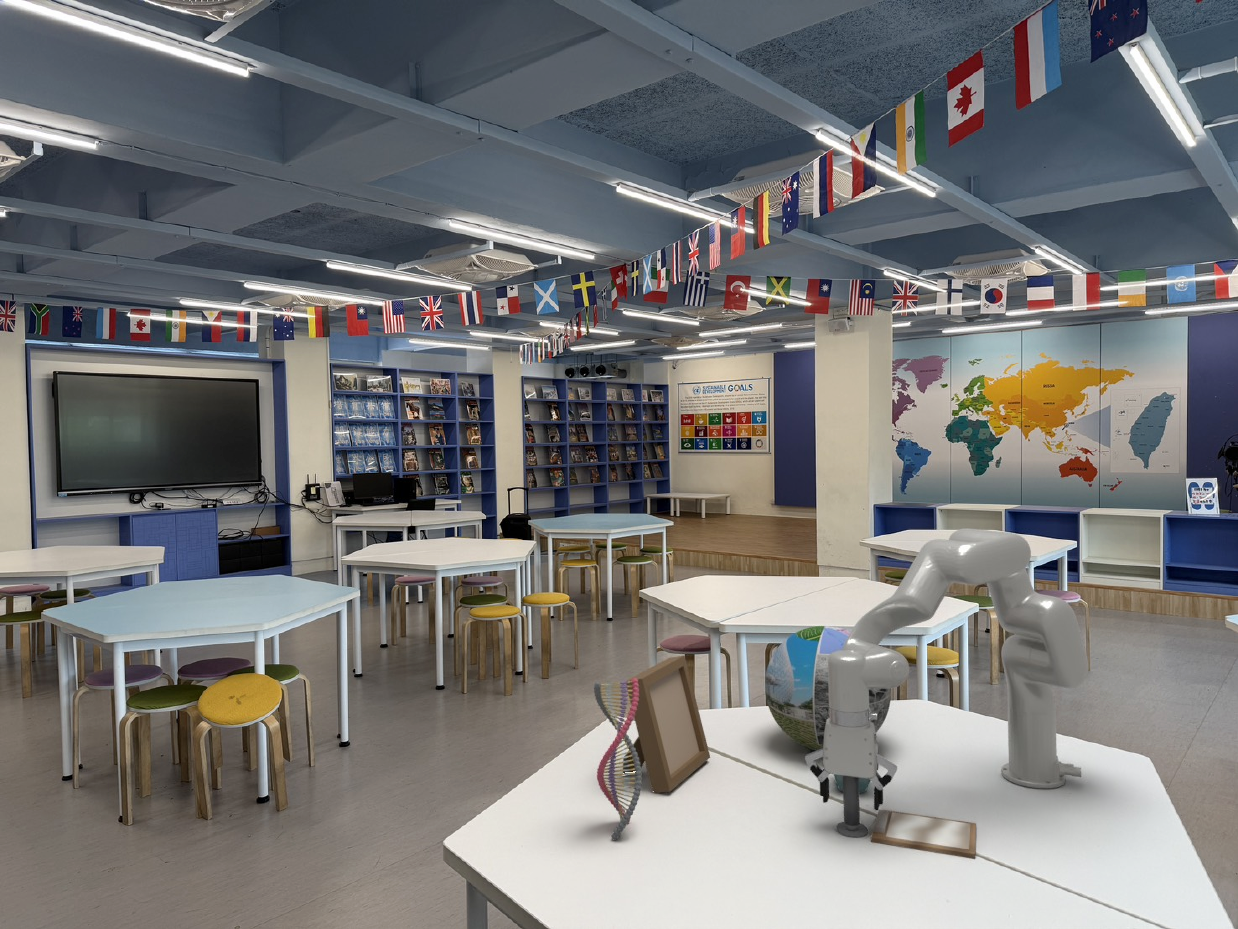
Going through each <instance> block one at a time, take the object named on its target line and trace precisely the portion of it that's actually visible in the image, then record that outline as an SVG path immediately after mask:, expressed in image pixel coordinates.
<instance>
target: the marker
mask: <svg viewBox="0 0 1238 929" xmlns="http://www.w3.org/2000/svg"><path fill="white" fill-rule="evenodd" d="M842 796H843V797H842V798H843V800H842V801H843V806H842V807H843V822H844V823H845V824H846V829H847V830H849V831H857V830H858V825H859V824H860V823H861V819H860V818H861V817H860V816H861V814H860V813H861V812H860V811H861V810H860V808H861V807H860V792H859V778H857V777H850V776H843V791H842Z"/></svg>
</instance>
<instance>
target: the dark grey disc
mask: <svg viewBox="0 0 1238 929" xmlns="http://www.w3.org/2000/svg"><path fill="white" fill-rule="evenodd" d="M835 830H836V832H837V833H838V834H840V835H842V836H844V837H848V838H857V839H858V838H862V837H863V838H864V837H865V836H867V835H868V834H869V828H868V827H867V826H866V825H865V824H863V823H862V822H860V824H859V825H858V830H857V831H849V830H847V829H846V824H845V823H844V821H841V822H839V823H837V824H836V825H835Z"/></svg>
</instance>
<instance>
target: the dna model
mask: <svg viewBox="0 0 1238 929" xmlns="http://www.w3.org/2000/svg"><path fill="white" fill-rule="evenodd" d="M627 683H632V686H627V685H626V684H627ZM614 685H620V686H614ZM593 686H594V688H593V689H594V690H593V692H594V697H595V700H596V703H597V705H598V706H599V708H600V710H601V711H602V713H603V716H605V717H606V718H607V720H608V721H609V723H611V725H612V727H614V730H616V731H617V734H616V736H615V738H614V740H613V741H612V743H611V744H610V745H609V747H608V748H607V751H605V753H604V754H603V756H602V758H601V759H600V761H599V764H598V768H597V771H596V773H597V774H596V779H597V782H598V786H599V789H600V790H601V792H602V793H603V795H605V798H607V800H608V801H609V802H610V805H613V808H614V809H615V811H617V813H618V815H619V823H618V825H617V826H616V827H615V829H614V830H613V833H612V834H611V836H610V837H611V839H612V840H613V839H614V841H617V839H618V838H619V837H620V835H621V833H622V832H623V831H624V829H625V828H626V826H627V825H628V822H629V823H630V821H631V818H632V817H631V816H633V815H634V811H635V809H636V807H637V804H638V801H639V800H640V798H639V797H640V795H641V791H642V787H641V786H642V780H643V777H642V775H643V774H642V769H641V767H640V765H641V764H640V762H639V757H637V756H638V753H637V752H636V748H634V743H632V740H631V738H630V736H629V735H628V734H627V733H628V731H629V730H630V726H631V725H632V722H633V721H634V720H635V719H634V716H635V712H636V711H637V706H638V701H639V698H638V697H639V689H638V688H639V684H638V680H637V678H633V679H632V681H628V682H627V680H622V681H620V682H612V683H601V682H600V681H596V682H595V683H594V685H593ZM606 686H607V687H606ZM609 686H610V687H609ZM629 687H632V688H633V690H627V688H629ZM608 689H612V690H608ZM613 689H616V690H613ZM631 691H633V694H628V692H631ZM619 692H621V693H619ZM610 696H611V697H610ZM612 696H614V697H612ZM629 696H633V698H632V699H630V698H628V697H629ZM611 700H612V701H611ZM613 700H615V701H613ZM630 700H631V701H632V703H631V702H627V701H630ZM611 703H612V704H611ZM619 704H620V705H619ZM629 706H630V707H629ZM617 708H619V709H617ZM611 710H612V711H611ZM626 710H629V711H626ZM614 714H615V715H614ZM626 714H628V715H626ZM616 715H618V716H619V717H618V716H616ZM623 742H624V743H623ZM622 743H623V744H622ZM624 746H626V747H624ZM623 747H624V748H623ZM622 748H623V749H622ZM618 750H619V751H618ZM626 750H628V751H626ZM623 751H625V752H623ZM621 752H623V753H621ZM627 753H631V755H630V756H626V757H624V756H625V755H626V754H627ZM623 755H624V756H623ZM620 756H623V757H620ZM618 757H619V758H618ZM627 757H632V758H633V759H632V760H627V761H622V760H623V759H624V758H627ZM617 761H619V762H617ZM630 761H633V762H634V764H629V765H625V766H623V763H627V762H630ZM620 764H621V765H620ZM616 765H617V766H616ZM618 765H619V766H618ZM628 766H635V768H634V769H624V770H623V767H628ZM619 768H620V769H619ZM621 768H622V769H621ZM616 769H617V770H616ZM631 770H635V771H636V772H635V773H624V774H623V771H631ZM621 772H622V773H621ZM622 775H628V776H632V775H635V777H617V776H622ZM616 780H635V782H634V781H616ZM621 784H624V785H621ZM625 784H626V785H625ZM627 784H629V785H634V786H628V785H627ZM623 788H626V789H631V790H633V791H630V790H626V789H623ZM618 791H620V792H618ZM621 792H625V793H628V794H624V793H621ZM629 793H630V795H629ZM631 794H633V795H631ZM623 796H624V797H628V798H631V800H629V799H628V798H624V797H623ZM621 799H622V800H624V801H626V802H629V804H628V803H626V802H624V801H622V800H621ZM624 805H625V806H626V807H625V806H624ZM627 807H628V808H627Z"/></svg>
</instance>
